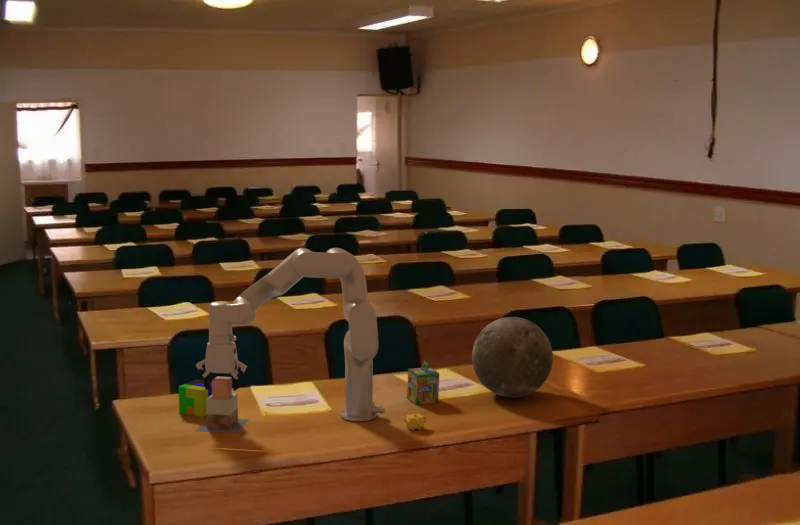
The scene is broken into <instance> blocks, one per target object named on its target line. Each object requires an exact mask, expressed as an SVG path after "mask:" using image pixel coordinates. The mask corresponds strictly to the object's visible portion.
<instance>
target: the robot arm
mask: <svg viewBox="0 0 800 525" xmlns="http://www.w3.org/2000/svg"><path fill="white" fill-rule="evenodd" d="M303 278H315V279H339V281H340V284H341V292H342V293H341V294H342V304H343V305H342V306H343V308H342V310H343V316H344V318H345V320H346V321H347V322H348V330H347V332H346V333H345V335H344V338H343V351H344V363H345V364H344V368H345V369H344V370H345V371H344V378H345V379H344V385H345V386H344V407H345V408H344V409H343V410H342V411H341V412H340V417H341V418H342V419H343V420H344V421H345V420H346V421H349V422H367V421H372V420H374V419H376V418H377V417H378V414H386V413H385V412H386V408H385V407H383V406H382V405H381V406H380V405H378V406H377V405H376V404H375V401H373V399H374V398H373V390H374V389H373V388H374V387H373V386H374V384H373V383H374V382H373V381H374V380H373V378H374V377H373V375H374V374H373V373H374V370H373V369H374V366H373V365H374V364H373V363H374V362H373V359H374V358H375V357H376V356H377V355H378V354H377V353H378V351H379V330H378V320H377V313H376V310H375V308H374V306H373V305H372V304H371V303H370V301H369V296H368V295H369V294H368V289H367V288H368V287H367V278H366V274H365V272H364V269H363V266H362V265H361V263H360V261H359V260H358V259H357V258H356V257H355V256H354V255H353V254H352V253H350V252H349V251H347V250H345V249H343V248H340V247H332V248H329V249H328V250H327V251H326V252H323V251H322V252H320V251H319V252H318V251H317V252H316V251H312V250H310V249H308V248H305V247H300V248H298V249H295V250H294V251H293V252H292V253H291V254H289V255H288V256H287V257H286V258H285V259H283V260H282V261H281V262H280V263H279V264H278V265H277V266H276V267H275V268H273V269H272V270H271V271H269V272H268V273H267V274H266V275H264V276H262V278H260V279H259V280H257V281H256V282H254V283H253V284H252V285H250V286H249V287H247V288H246V289H245V290H244V291H243V292H242V293H240V295H237V296H238V297H236V298H235V299H234V300H233V302H232V303H230V302H228V301H222V300H221V301H220V300H219V301H212V302H211V303H209V305H208V342H207V343H206V350H205V358H204V359H203V360H201V361H198V362H197V363H196V364H195V367H196V369H197V370H198V373H199V374H200V375H201V376H202V378H203V380H204V386H205V389H209V388H210V387H211V382H212V380H211V375H210V374H211V373H212V374H230V375H231V376H232V377H233V379H232V391H234V392H236V391H237V390H238V389H239V388H240V378H241V376H243V374H245V371H246V370H247V368H248V366H247V365H246V364H245V363H243V362H241V361H240V360H238V359H239V358H238V350H237V345H236V342H235V341H237V336H235V335H234V333H233V325H239V326H246V325H250V324H252V323H253V322H254V320H255V319H256V316H257V311H256V310H257V309H259V307H261V306H262V305H263V304H264V303H267V301H269V300H270V299H272V298H274V297H280V296H282V295H284V294H286V293H287V292H288V291H289V290H290V289H292V287H293V286H295V285H296V284H297V283H298V282H299V281H301V279H303ZM203 365H204V366H205V367H204V368H205V369H204V368H203ZM239 368H240V370H239V371H238V369H239Z"/></svg>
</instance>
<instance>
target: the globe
mask: <svg viewBox="0 0 800 525" xmlns="http://www.w3.org/2000/svg"><path fill="white" fill-rule="evenodd" d="M553 360H554V354H553V347H552V345H551V342H550V339H549V338H548V336H547V335H546V333H545V331H543V330H542V328H541V327H539V326H538V325H537V324H536V323H534V322H532V321H531V320H528V319H525V318H522V317H518V316H506V317H502V318H499V319H495V320H494V321H492V322H490V323H488V324H487V325H486V326H485V327H484V328H483V329H482V330H481V331H480V332H479V334H478V335H477V336H476V339H475V341H474V344H473V348H472V352H471V362H472V366H473V367H472V368H473V371H474V373H475V375H476V377H477V379H478V380H479V382H480V383H481V384H482V385H483V386H484V387H485V388H486V389H487V390H488V391H490V392H491V393H493V394H494V395H497V396H500V397H504V398H511V399H512V398H515V399H516V398H523V397H527V396H529V395H530V394H532V393H534V392H536V391H537V390H540V388H541V387H542V386H543V385H544V384H545V383H546V381H547V379H548V378H549V376H550V373H551V371H552V367H553Z"/></svg>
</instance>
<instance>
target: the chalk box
mask: <svg viewBox="0 0 800 525" xmlns="http://www.w3.org/2000/svg"><path fill="white" fill-rule="evenodd" d="M429 365H430V363H429V362H427V361H426V360H423V362H422V365H421V367H417V368H415V367H414V368H408V370H407V390H406V392H407V393H406V399H408V400H409V401H410V402H411V403H413V404H414V405H415V406H422V405H431V404H439V394H440V392H439V391H440V373H439V371H437V370H435V368H434V369H433V368H432V367H430V366H429Z"/></svg>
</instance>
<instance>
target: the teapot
mask: <svg viewBox="0 0 800 525" xmlns="http://www.w3.org/2000/svg"><path fill="white" fill-rule="evenodd" d="M402 419H403V421H404V423H405V425H406V427H407V428H408V429H409V430H410V431H411V432H413V431H415V430H418V431H421V430H422V429H424V426H425V423H427V416H426V415H421V413H413V414H407V415H406V418H405V417H403V418H402Z"/></svg>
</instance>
